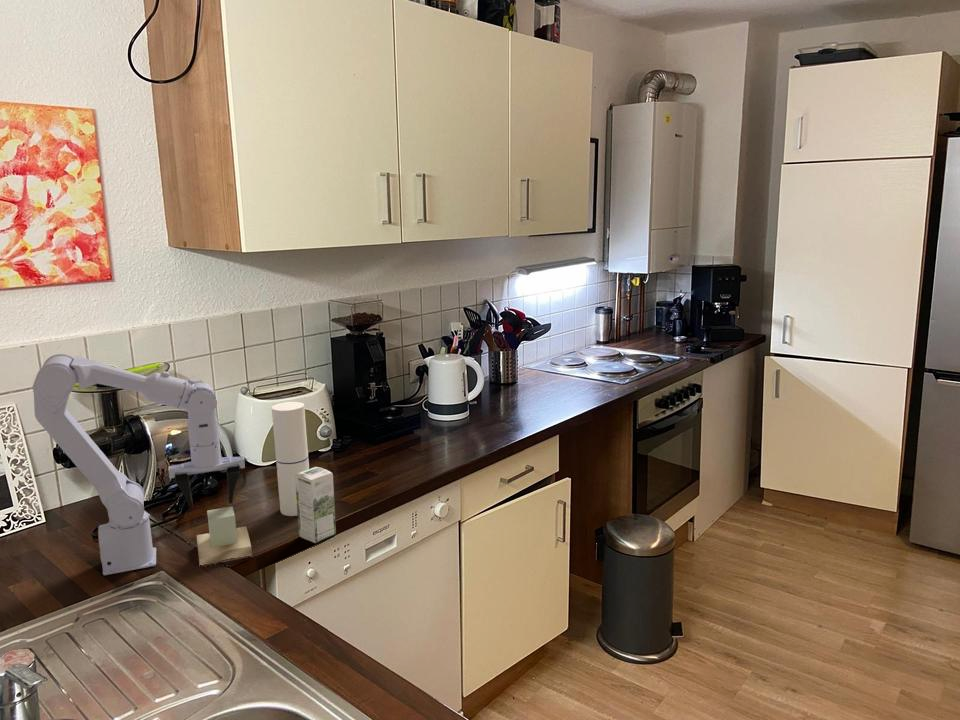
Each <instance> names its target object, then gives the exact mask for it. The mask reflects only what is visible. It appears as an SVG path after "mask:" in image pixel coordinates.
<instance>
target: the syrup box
mask: <svg viewBox="0 0 960 720" xmlns="http://www.w3.org/2000/svg"><path fill="white" fill-rule="evenodd" d="M295 486H296V500H297V514H298V516H297V525H298V526H297V527H298V528H297V529H298V536H299V537H300V538H301V539H304V540H306V541H309V542H311V543H314V544H317V543H319V542H322V541H323V540H326V539H328V538H330V537H333V536H335V535H336V533H337V530H336V529H337V528H336V525H337V524H336V511H335V510H336V508H335V490H334V489H335V488H334V474H333V472H331V471H330V470H329V469H325V468H323V467H319V466H314V467H312V468H309V469H308V470H306V471H303V472H300V473H297V474H295Z"/></svg>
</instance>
